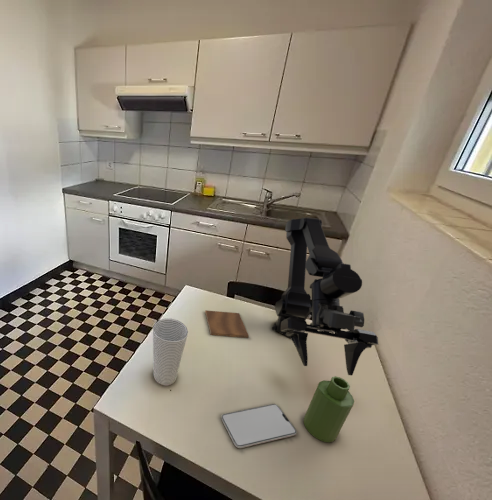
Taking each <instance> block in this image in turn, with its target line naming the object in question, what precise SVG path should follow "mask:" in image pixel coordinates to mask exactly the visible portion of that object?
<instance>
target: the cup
mask: <svg viewBox="0 0 492 500" xmlns="http://www.w3.org/2000/svg"><path fill="white" fill-rule="evenodd" d="M188 334H189V331H188V326H186V325H185V324H184V323H183V322H182V321H179V320H178V319H175V318H162V319H159V320H157V321H155V322H154V324H153V326H152V353H153V354H152V359H153V363H152V365H153V378H154V379H155V382H156V383H158V384H159V385H161V386H171V385H173V384H174V383H175V382H176V380H177V377H178V373H179V369H180V364H181V362H182V357H183V353H184V350H185V345H186V342H187V337H188Z"/></svg>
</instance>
